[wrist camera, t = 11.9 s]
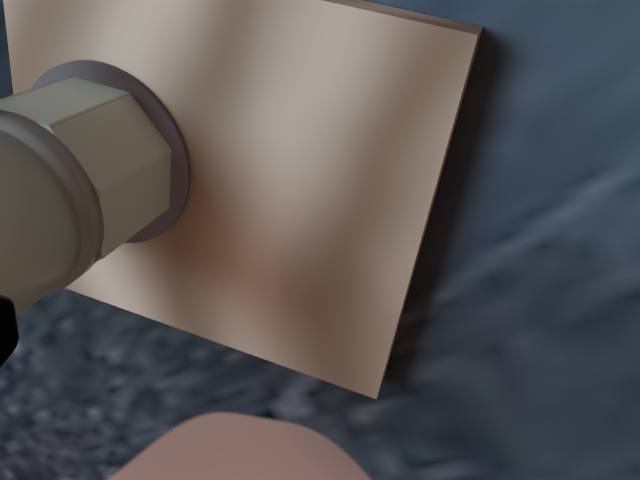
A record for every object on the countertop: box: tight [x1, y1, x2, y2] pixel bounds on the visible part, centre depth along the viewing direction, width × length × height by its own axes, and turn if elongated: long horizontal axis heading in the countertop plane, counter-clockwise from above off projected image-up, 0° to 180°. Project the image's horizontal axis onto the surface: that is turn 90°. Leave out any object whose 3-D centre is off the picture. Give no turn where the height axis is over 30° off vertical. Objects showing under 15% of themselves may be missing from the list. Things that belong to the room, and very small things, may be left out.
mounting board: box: [3, 0, 483, 399], centre depth 21 cm, size 16×14×5 cm
